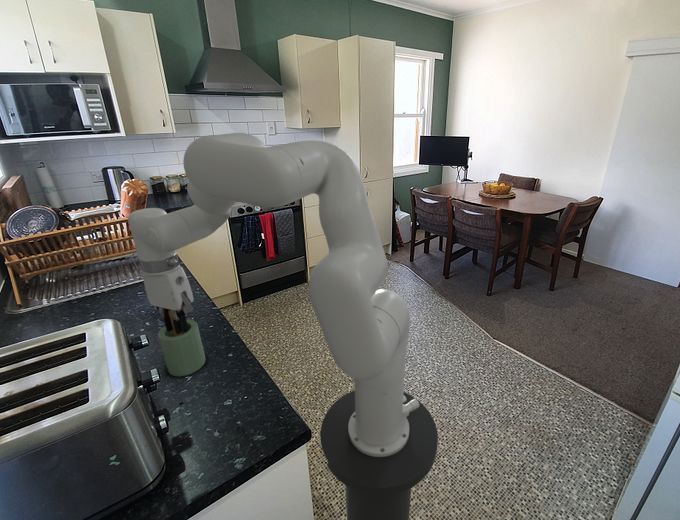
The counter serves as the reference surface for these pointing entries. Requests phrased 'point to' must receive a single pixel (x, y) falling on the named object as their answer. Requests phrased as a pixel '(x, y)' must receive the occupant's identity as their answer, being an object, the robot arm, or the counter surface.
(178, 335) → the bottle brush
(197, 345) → the jar
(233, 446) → the counter surface
